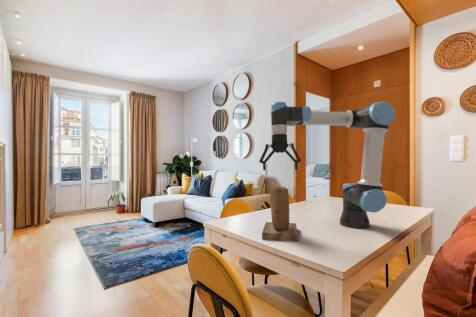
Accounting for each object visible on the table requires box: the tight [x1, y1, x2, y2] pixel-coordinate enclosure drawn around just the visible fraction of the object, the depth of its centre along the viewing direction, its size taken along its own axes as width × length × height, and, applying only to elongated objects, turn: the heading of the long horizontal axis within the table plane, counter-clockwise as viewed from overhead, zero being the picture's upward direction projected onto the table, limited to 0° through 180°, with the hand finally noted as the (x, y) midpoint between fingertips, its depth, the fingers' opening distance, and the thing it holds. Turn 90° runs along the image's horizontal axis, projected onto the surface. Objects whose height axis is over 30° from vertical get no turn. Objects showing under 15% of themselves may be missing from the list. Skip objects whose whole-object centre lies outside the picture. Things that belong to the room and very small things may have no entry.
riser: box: [261, 221, 298, 242], centre depth 123 cm, size 16×19×3 cm
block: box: [270, 186, 290, 230], centre depth 123 cm, size 11×8×20 cm
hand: (280, 176), depth 123 cm, fingers open, 13 cm apart
